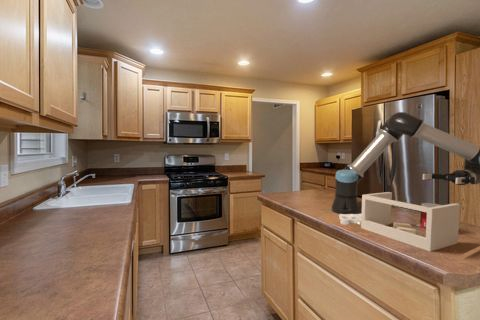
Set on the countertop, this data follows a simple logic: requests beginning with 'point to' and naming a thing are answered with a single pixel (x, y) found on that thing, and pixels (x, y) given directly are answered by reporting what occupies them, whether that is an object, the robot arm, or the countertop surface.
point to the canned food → (425, 214)
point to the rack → (437, 232)
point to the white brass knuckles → (350, 218)
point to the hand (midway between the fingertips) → (439, 178)
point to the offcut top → (404, 227)
